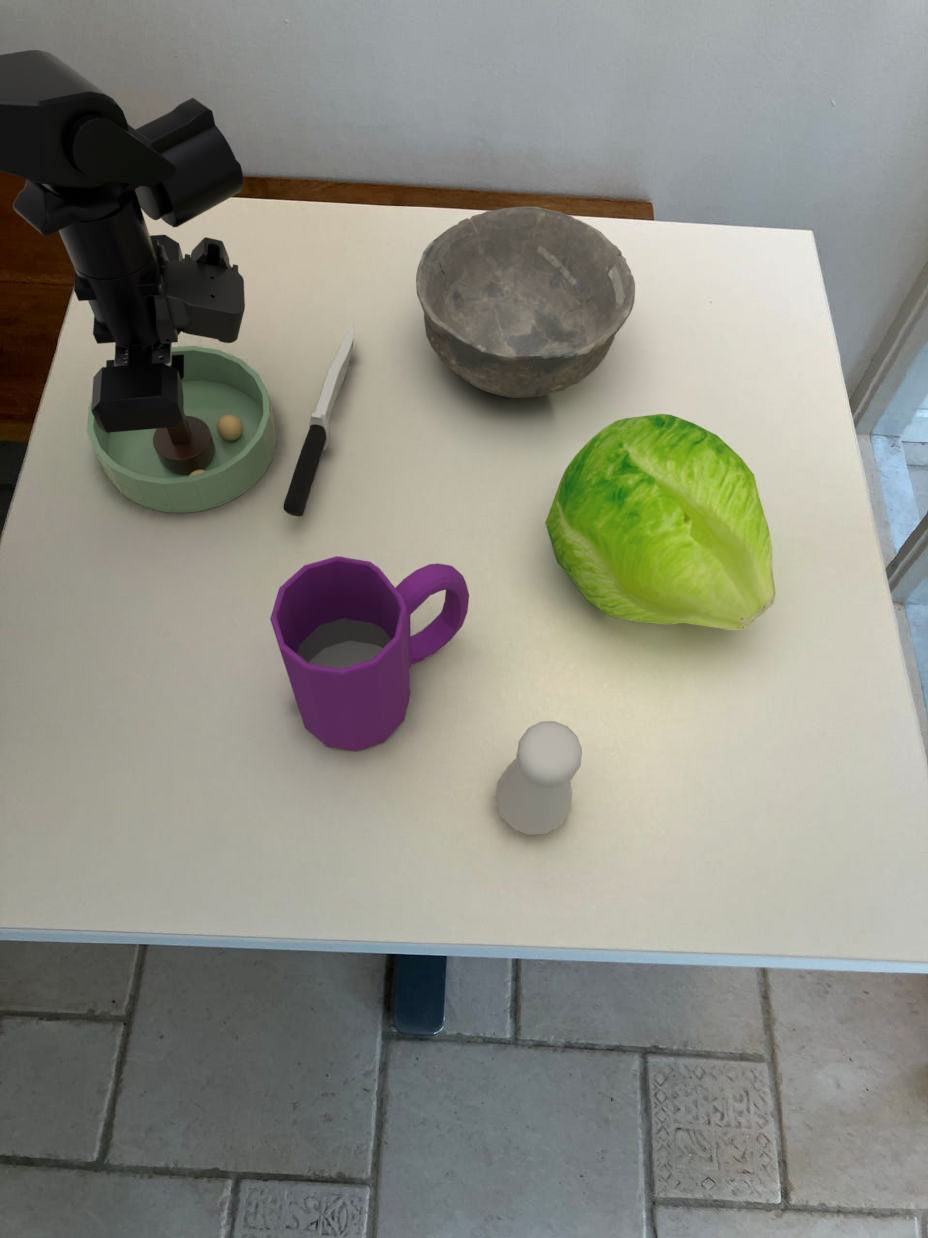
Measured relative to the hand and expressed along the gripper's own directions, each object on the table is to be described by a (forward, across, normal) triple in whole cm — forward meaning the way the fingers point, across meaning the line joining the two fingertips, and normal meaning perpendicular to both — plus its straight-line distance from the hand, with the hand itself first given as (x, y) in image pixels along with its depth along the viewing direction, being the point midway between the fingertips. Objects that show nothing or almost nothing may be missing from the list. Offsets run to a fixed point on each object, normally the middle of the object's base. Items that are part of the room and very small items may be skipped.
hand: (168, 403), depth 77 cm
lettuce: (+8, -18, -40) cm, 45 cm away
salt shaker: (+8, -37, -26) cm, 46 cm away
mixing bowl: (+8, +2, 0) cm, 8 cm away
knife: (+8, +2, -13) cm, 15 cm away
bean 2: (+5, +2, -3) cm, 6 cm away
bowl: (+8, +10, -33) cm, 35 cm away
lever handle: (+6, 0, 0) cm, 7 cm away
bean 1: (+6, -3, -1) cm, 7 cm away
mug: (+8, -25, -16) cm, 31 cm away
